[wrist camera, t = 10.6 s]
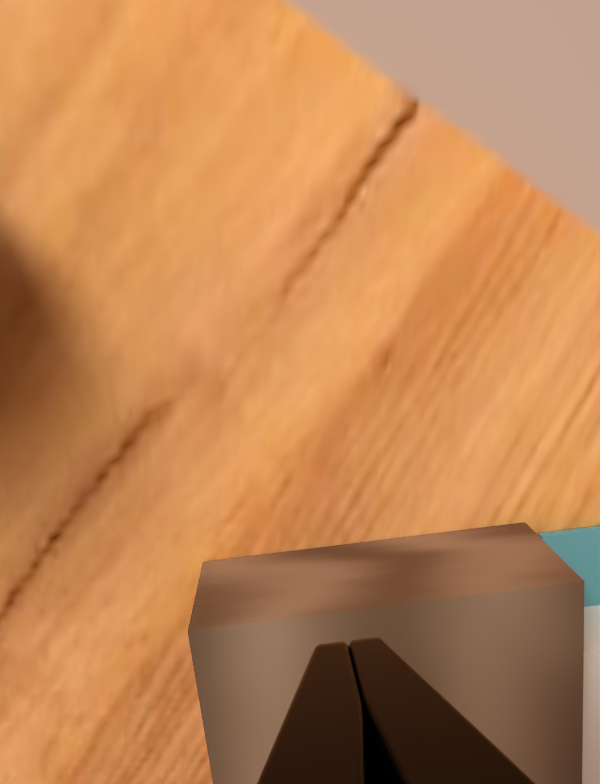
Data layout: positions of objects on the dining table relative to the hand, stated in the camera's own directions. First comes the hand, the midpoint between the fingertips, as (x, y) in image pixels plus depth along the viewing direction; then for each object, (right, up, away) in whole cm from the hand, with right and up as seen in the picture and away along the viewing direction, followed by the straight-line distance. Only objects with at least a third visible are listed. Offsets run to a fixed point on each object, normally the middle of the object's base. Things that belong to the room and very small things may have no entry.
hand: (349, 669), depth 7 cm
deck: (+2, -8, +15) cm, 17 cm away
